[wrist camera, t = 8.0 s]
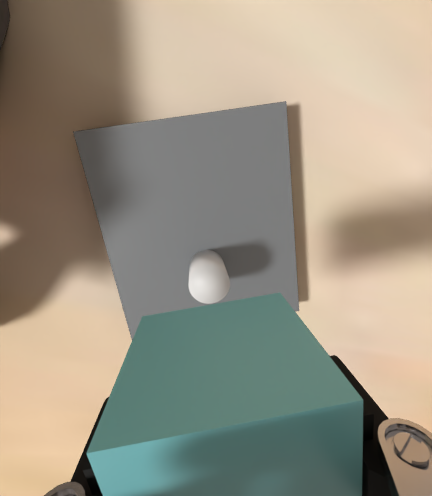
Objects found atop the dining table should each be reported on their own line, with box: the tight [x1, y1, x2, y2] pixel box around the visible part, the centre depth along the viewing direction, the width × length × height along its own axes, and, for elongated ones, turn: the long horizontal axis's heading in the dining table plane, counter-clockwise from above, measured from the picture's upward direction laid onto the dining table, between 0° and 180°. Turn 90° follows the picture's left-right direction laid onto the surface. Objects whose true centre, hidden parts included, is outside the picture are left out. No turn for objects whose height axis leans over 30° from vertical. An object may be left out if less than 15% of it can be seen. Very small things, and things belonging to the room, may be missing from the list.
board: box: [73, 101, 299, 340], centre depth 19 cm, size 18×16×6 cm
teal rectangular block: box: [86, 293, 363, 496], centre depth 8 cm, size 6×6×5 cm
